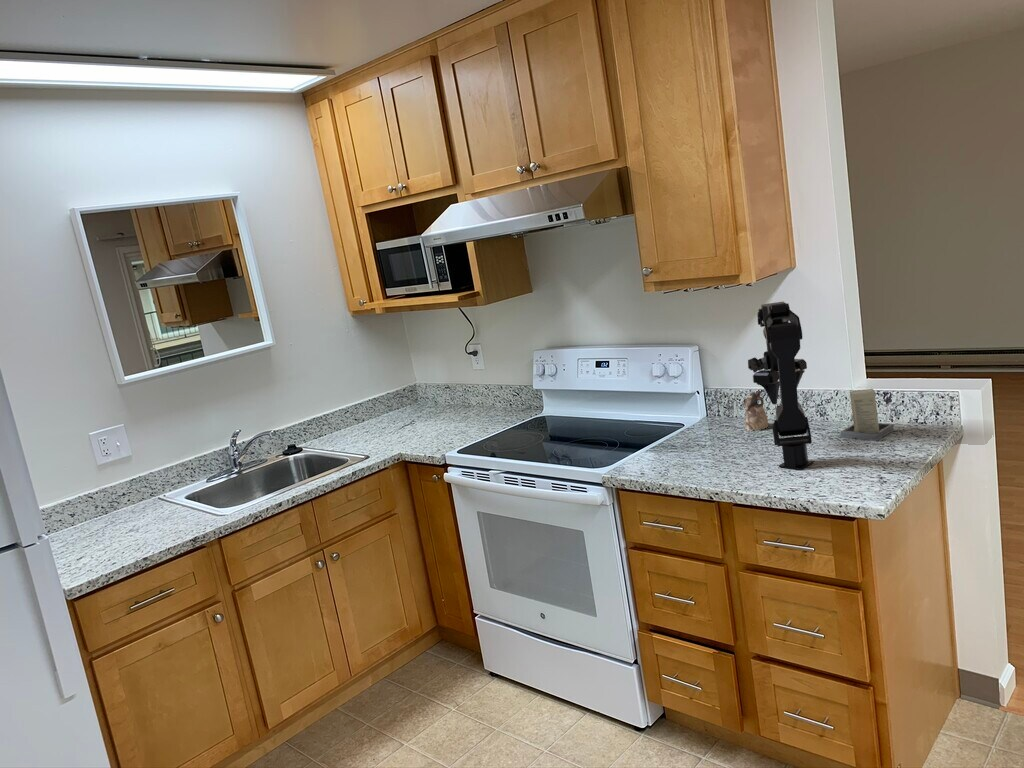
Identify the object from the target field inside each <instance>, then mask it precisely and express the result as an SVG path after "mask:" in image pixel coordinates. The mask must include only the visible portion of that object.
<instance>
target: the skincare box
mask: <svg viewBox="0 0 1024 768" xmlns="http://www.w3.org/2000/svg"><path fill="white" fill-rule="evenodd" d="M849 396H850V404H851V405H850V406H851V413H852V419H853V424H854V430H855V432H863V433H877V432H879V424H878V423H879V418H878V417H879V415H878V409H877V400H876V399H877V398H876V392H875V390H874V388H867V389H857V390H850V391H849Z"/></svg>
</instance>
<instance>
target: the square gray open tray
mask: <svg viewBox="0 0 1024 768" xmlns="http://www.w3.org/2000/svg"><path fill="white" fill-rule="evenodd" d="M878 424H879V432H877V433H863V432H855V430H854V423H853V424H851V425H850V426H848V427H846V428H844V429H843V430H840V438H841V437H847V438H846V439H852V438H858V439H857V440H864V439H869V440H868V441H875V440H877V441H879V440H881V439H883V438H884V437H886V436H887V435H890V432H891V433H892V432H894V431H895V427H894V423H879V422H878ZM885 435H886V436H885ZM883 436H884V437H883ZM880 438H881V439H880Z"/></svg>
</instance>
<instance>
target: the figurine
mask: <svg viewBox="0 0 1024 768" xmlns="http://www.w3.org/2000/svg"><path fill="white" fill-rule="evenodd" d="M761 394H762V391H761V390H758V391H757V392H756V393H755V391H753V390H752V391H749V392H748V393H747V395H745V401H744V403H743V405H744V408H745V411H746V412H745V423H744V426H745V427H744V430H745V429H747V430H746V431H748V430H760V431H762V430H761V429H764V430H766V429H768V428H767V427H769V420H768V416H767V413H766V411H765V409H764V404H765V403H764V400H763V398H762V396H761ZM759 401H760V403H759ZM765 428H766V429H765Z"/></svg>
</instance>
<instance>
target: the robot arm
mask: <svg viewBox="0 0 1024 768" xmlns="http://www.w3.org/2000/svg"><path fill="white" fill-rule="evenodd" d="M756 316H757V325H758V326H759V327H761V328H763V331H762V334H763V336H764V338H765V341H766V342H765V344H766V351H764V353H763V357H762V358H757V357H752V358H749V359H748V360H747V368H748V370H750V371H752V372H753V373H754V374H752V381H753V383H754V384H757V385H759V386H760V387H762V388H763V389H764V390H765V392H766V394H767V396H768V398H769V400H770V402H771V404H772V405H777V403H778V397H780V405H777V406H776V409H775V419H774V420H773V424H772V425H771V429H772V435H773V442H774V446H777V447H780V448H782V449H781V450H782V457H783V462H781V463H780V464H779V465H778V467H779V468H785V469H792V470H801V471H802V470H803V469H805V468H807V467H808V466H810V465H812V464H813V463H814V460H812V459H811V460H810V459H809V456H808V448H807V447H808V445H809V444H812V434H811V429H810V428H811V427H810V422H809V419H808V416H806V414H805V410H804V408H803V407H802V404H801V403H799V399H798V386H799V384H800V381H801V379H802V377H803V374H804V373H805V372H806V371H805V370H807V369H808V366H807V365H808V364H807V361H806V360H805V359H804V358H796V356H797V355H798V353H799V351H800V349H801V340H803V330H802V329H803V328H802V325H801V320H800V317H799V316H798V315H797V314H796V313H794V312H793V311H792V310H791V309H790V305H789V303H786V302H785V301H778V302H771V303H763V304H761V305H760V308H759V309H758V312H757V315H756ZM779 394H780V395H779ZM805 434H806V435H805ZM807 444H808V445H807Z"/></svg>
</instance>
